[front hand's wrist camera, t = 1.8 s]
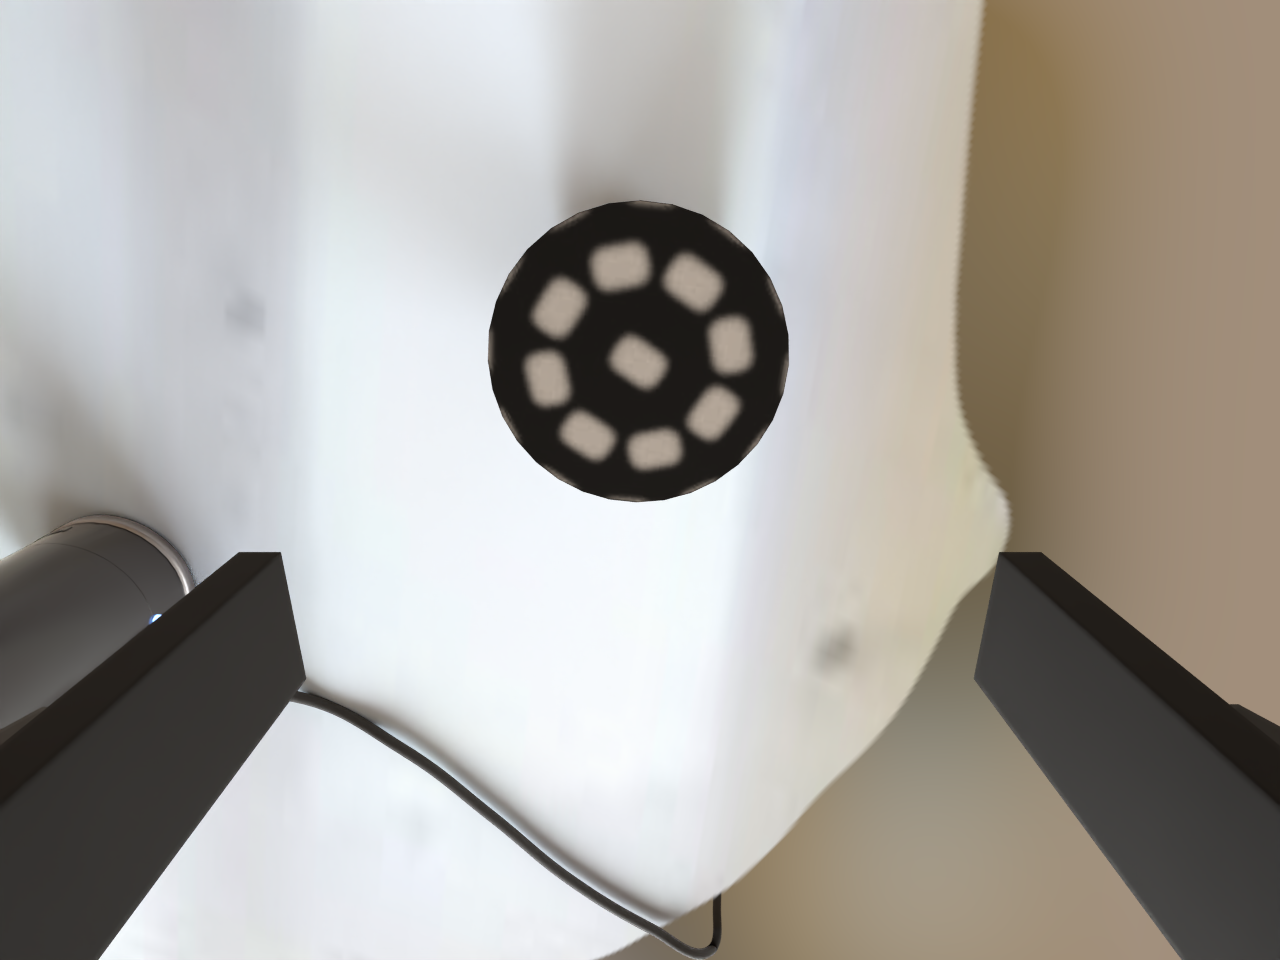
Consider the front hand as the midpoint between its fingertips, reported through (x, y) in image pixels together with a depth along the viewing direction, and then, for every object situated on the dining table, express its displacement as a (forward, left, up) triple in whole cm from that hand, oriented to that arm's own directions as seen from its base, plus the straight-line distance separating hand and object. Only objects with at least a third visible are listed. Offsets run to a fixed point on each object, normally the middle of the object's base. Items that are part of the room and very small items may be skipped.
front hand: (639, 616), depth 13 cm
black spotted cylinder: (-3, 0, -18) cm, 18 cm away
